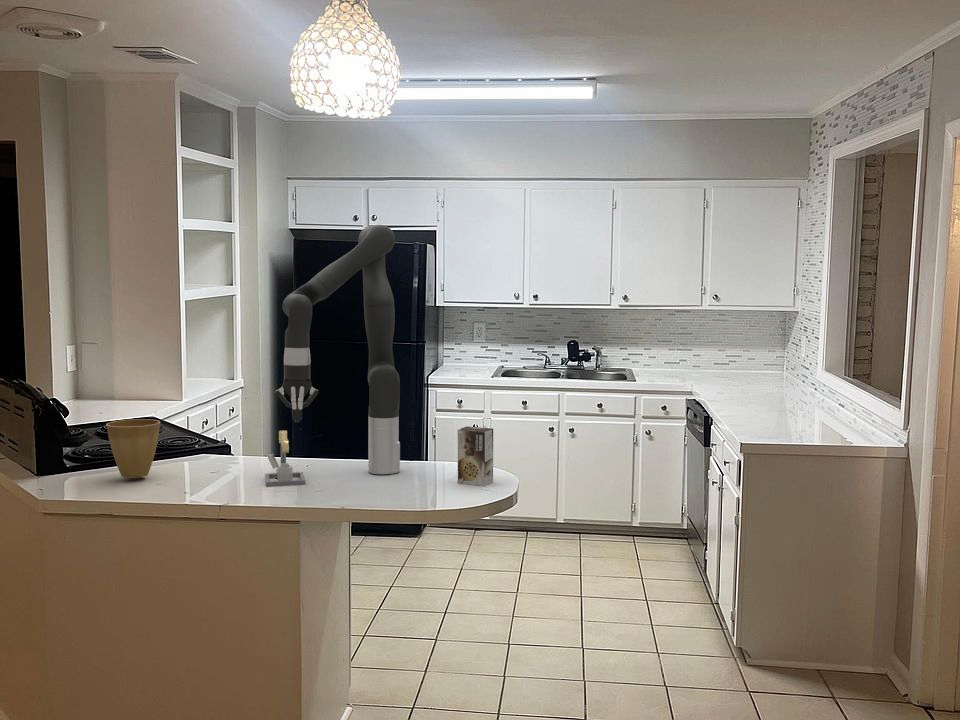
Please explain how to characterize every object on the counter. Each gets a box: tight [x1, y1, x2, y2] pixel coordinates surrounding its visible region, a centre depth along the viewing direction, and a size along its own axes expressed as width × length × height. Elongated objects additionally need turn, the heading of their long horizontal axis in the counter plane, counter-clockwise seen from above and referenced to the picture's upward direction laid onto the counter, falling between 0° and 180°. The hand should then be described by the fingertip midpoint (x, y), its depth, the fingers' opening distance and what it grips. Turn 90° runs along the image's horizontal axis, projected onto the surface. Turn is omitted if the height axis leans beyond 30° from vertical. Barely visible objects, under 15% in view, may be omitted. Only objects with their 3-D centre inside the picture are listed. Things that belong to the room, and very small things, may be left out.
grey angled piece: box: [266, 453, 294, 481], centre depth 255 cm, size 7×2×8 cm, turn 85°
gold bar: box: [278, 430, 290, 454], centre depth 257 cm, size 2×17×4 cm, turn 15°
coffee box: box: [457, 426, 494, 487], centre depth 255 cm, size 9×6×16 cm
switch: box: [264, 443, 306, 487], centre depth 258 cm, size 11×18×9 cm, turn 15°
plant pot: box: [105, 418, 161, 479], centre depth 260 cm, size 15×15×16 cm
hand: (297, 421), depth 255 cm, fingers closed
